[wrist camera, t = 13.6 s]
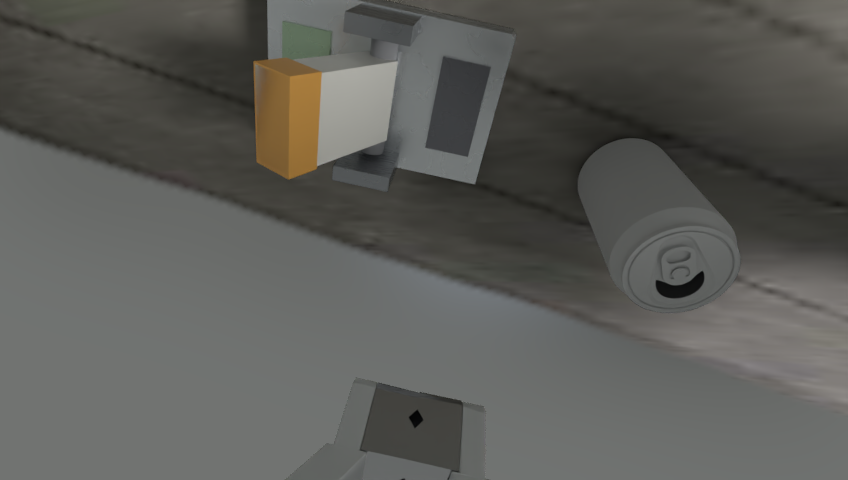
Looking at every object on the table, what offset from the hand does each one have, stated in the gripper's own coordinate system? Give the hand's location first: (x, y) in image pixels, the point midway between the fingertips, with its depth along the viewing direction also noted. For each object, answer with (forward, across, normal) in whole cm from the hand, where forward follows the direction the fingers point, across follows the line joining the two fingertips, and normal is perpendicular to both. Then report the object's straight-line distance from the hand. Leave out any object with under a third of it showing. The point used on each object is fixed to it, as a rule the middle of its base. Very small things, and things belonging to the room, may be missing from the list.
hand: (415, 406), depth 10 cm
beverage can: (+26, -12, +3) cm, 29 cm away
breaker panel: (+25, +6, 0) cm, 26 cm away
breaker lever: (+21, +6, 0) cm, 22 cm away
